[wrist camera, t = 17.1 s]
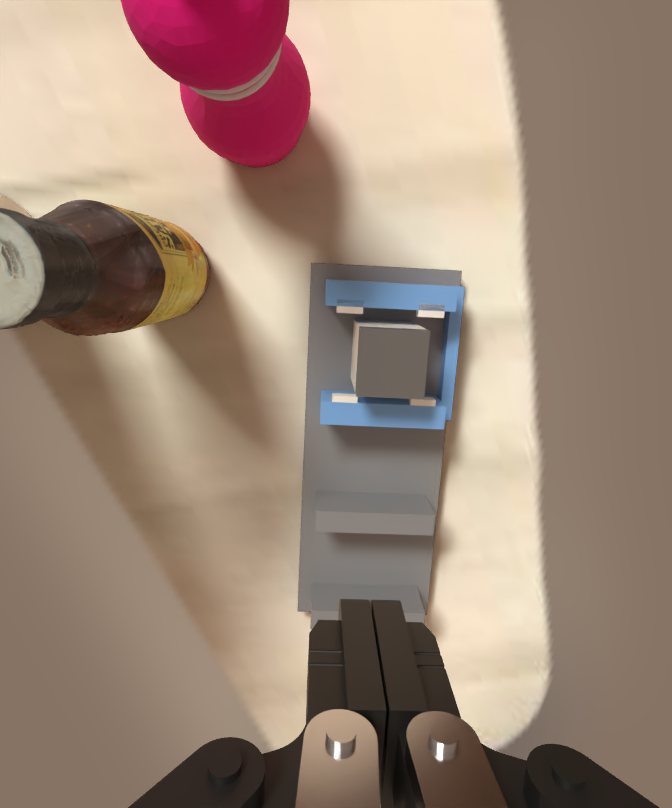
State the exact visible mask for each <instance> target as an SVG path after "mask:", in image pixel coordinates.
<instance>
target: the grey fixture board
mask: <svg viewBox="0 0 672 808" xmlns="http://www.w3.org/2000/svg"><path fill="white" fill-rule="evenodd" d="M461 274H462V271H456V270H437V269H418V268H399V267H381V266H362V265H343V264H325V263H311V286H310V312H309V337H308V362H307V387H306V413H305V438H304V463H303V489H302V514H301V539H300V564H299V590H298V611H300V612H311V629H313V627H314V626H315V624H316V623H317V621H318V620H338V614H339V601H340V599H366V600H369V601H371V600H400V601H401V604H402V608H403V612H404V616H405V620H406V622H422V623H423V624H424V620H425V615H427V605H428V596H429V586H430V576H431V566H432V557H433V547H434V537H435V527H436V518H437V508H438V498H439V488H440V479H441V469H442V459H443V449H444V440H445V430H446V420H450V421H451V415H452V405H453V396H454V386H455V377H456V367H457V358H458V348H459V338H460V329H461V319H462V310H463V300H464V291H465V287H463V286H460V284H461ZM354 319H366V320H387V321H409V322H414V323H416V324H418V325H420V326H421V327H423V328H425V329H427V330H429V331H430V339H429V351H428V362H427V373H426V384H425V395H424V399H402V398H378V397H356V394H355V390H354V387H353V384H352V380H351V360H352V343H353V325H354Z"/></svg>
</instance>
